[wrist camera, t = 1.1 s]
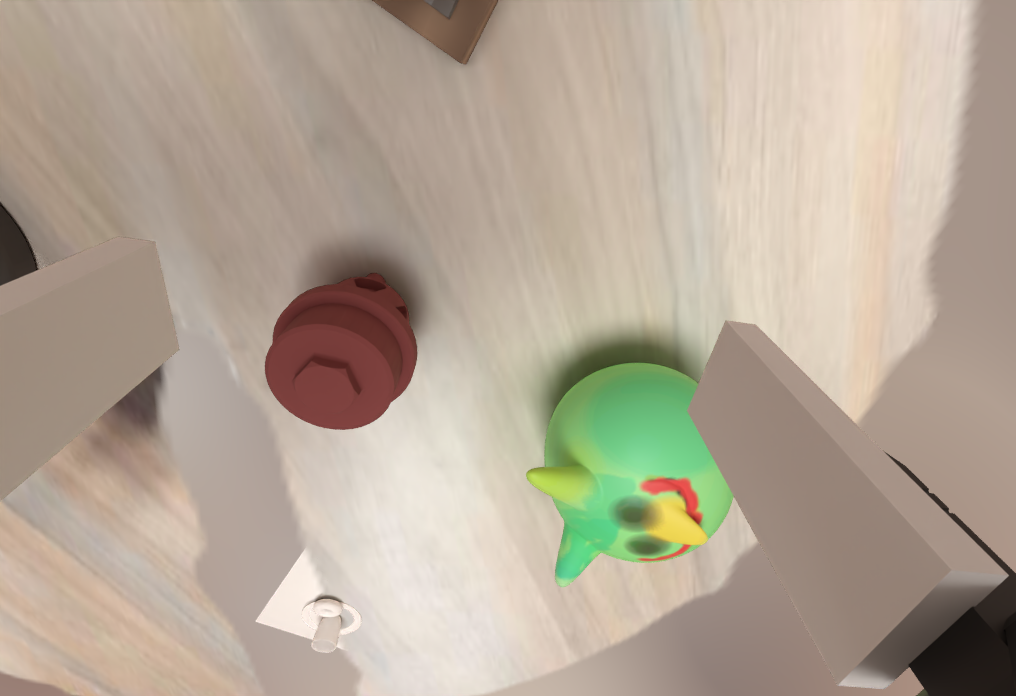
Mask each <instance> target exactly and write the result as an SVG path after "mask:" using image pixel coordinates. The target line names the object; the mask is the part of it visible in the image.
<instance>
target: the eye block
mask: <svg viewBox="0 0 1016 696" xmlns="http://www.w3.org/2000/svg"><path fill="white" fill-rule="evenodd" d="M372 1H374V2H375V3H377V4H378V5H379V6H381V7H382V8H384V9H385V10H386V11H388V12H389V13H391V14H392V15H393V16H395V17H396V18H398V19H399V20H400V21H402V22H403V23H405V24H406V25H408V26H409V27H410V28H412V29H413V30H415V31H416V32H417V33H419V34H420V35H422V36H423V37H424V38H426V39H427V40H429V41H430V42H431V43H433V44H434V45H436V46H437V47H438V48H440V49H441V50H443V51H444V52H446V53H447V54H448V55H450V56H451V57H453V58H454V59H455V60H457V61H458V62H460V63H463V64H467V62H468V60H469V58H470V56H471V54H472V52H473V50H474V48H475V46H476V44H477V42H478V40H479V38H480V36H481V34H482V32H483V30H484V28H485V26H486V24H487V22H488V20H489V18H490V16H491V14H492V12H493V10H494V8H495V6H496V4H497V2H498V0H372Z"/></svg>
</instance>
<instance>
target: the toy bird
mask: <svg viewBox="0 0 1016 696" xmlns="http://www.w3.org/2000/svg"><path fill="white" fill-rule="evenodd" d="M697 386H698V383H697V382H696V381H694V380H693V379H691V378H690V377H688V376H687V375H685V374H683V373H681V372H679V371H676V370H674V369H671V368H668V367H665V366H661V365H656V364H650V363H624V364H618V365H614V366H610V367H607V368H604V369H601V370H599V371H596V372H594V373H592V374H590V375H588V376H587V377H585V378H584V379H582V380H581V381H579V382H578V383H577V384H575V385H574V386H573V387H572V388H571V389H570V390H569V391H568V392H567V393H566V394H565V395H564V397H563V398H562V399H561V401H560V402H559V404H558V405H557V407H556V409H555V411H554V413H553V415H552V417H551V420H550V423H549V426H548V430H547V434H546V440H545V454H544V457H545V467H540V468H534V469H531V470H529V471H528V472H527V473H526V477H527V479H528V481H529V482H530V483H531V484H532V485H533V486H534V487H536V488H537V489H539V490H541V491H542V492H544V493H546V494H548V495H550V496H552V498H553V501H554V503H555V505H556V507H557V509H558V511H559V513H560V515H561V516H562V518H563V519H564V530H563V535H562V539H561V544H560V548H559V553H558V557H557V562H556V569H555V580H556V583H557V584H558V585H559V586H560V587H566V586H568V585H569V584H570V583H572V582H573V581H574V580H575V579H576V578H577V577H578V576H579V575H580V574H581V572H582V571H583V570H584V569H585V568H586V567H587V566H588V565H589V564H590V563H591V561H592V560H593V559H594V558H595V557H596V556H598V555H599V554H600V553H604V554H606V555H609V556H611V557H614V558H617V559H621V560H626V561H631V562H641V563H650V562H660V561H665V560H670V559H673V558H676V557H679V556H682V555H684V554H687V553H689V552H691V551H692V550H694V549H696V548H697V547H699V546H700V545H702V544H705V543H706V542H707V541H708V539H709V538H710V537H711V536H712V535H713V534H714V533H715V532H716V531H717V529H718V528H719V527H720V525H721V524H722V522H723V520H724V519H725V517H726V515H727V513H728V511H729V508H730V506H731V503H732V500H733V494H732V492H731V490H730V488H729V487H728V485H727V483H726V481H725V479H724V477H723V476H722V474H721V472H720V470H719V468H718V466H717V465H716V463H715V461H714V459H713V457H712V455H711V454H710V452H709V450H708V448H707V446H706V445H705V443H704V441H703V439H702V437H701V435H700V434H699V432H698V430H697V428H696V426H695V424H694V423H693V421H692V419H691V417H690V415H689V413H688V412H687V409H688V407H689V405H690V402H691V400H692V398H693V395H694V393H695V391H696V388H697Z"/></svg>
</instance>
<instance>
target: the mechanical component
mask: <svg viewBox="0 0 1016 696" xmlns="http://www.w3.org/2000/svg"><path fill="white" fill-rule="evenodd" d="M416 361H417V344H416V339H415V336H414V334H413V331H412V329H411V327H410V325H409V313H408V310H407V307H406V305H405V303H404V301H403V299H402V298H401V297H400V295H399V294H398V293H397V292H396V291H395V290H394V289H393V288H391V287H390V286H388V285H387V284H385V280H384V278H383V277H382V276H381V275H379V274H377V273H372V274H369V275H368V276H367V277H354V278H349V279H346V280H343V281H341V282H340V283H338V284H333V285H324V286H319V287H316V288H313V289H310V290H308V291H306V292H304V293H303V294H301V295H299V296H298V297H297V298H296V299H294V300H293V301H292V302H291V303H290V304H289V306H288V307H287V308H286V309H285V310H284V311H283V312H282V314H281V315H280V317H279V318H278V320H277V322H276V325H275V327H274V332H273V344H272V346H271V347H270V349H269V351H268V353H267V356H266V361H265V374H266V378H267V382H268V385H269V387H270V389H271V391H272V393H273V394H274V396H275V397H276V399H277V400H278V401H279V402H280V403H281V404H282V405H283V406H284V407H285V408H286V409H287V410H288V411H289V412H291V413H292V414H294V415H295V416H297V417H298V418H300V419H302V420H304V421H306V422H308V423H311V424H313V425H316V426H319V427H323V428H329V429H340V430H345V429H354V428H358V427H362V426H365V425H367V424H370V423H371V422H373V421H375V420H377V419H378V418H379V417H380V416H381V415H382V414H383V413H384V412H385V411H386V410H387V408H388V407H389V405H390V403H391V402H392V401H393V400H395V399H396V398H397V397H399V396H400V395H401V394H402V393H403V391H404V390H405V389H406V388H407V386H408V384H409V383H410V381H411V378H412V376H413V372H414V369H415V366H416Z"/></svg>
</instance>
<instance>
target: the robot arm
mask: <svg viewBox="0 0 1016 696" xmlns="http://www.w3.org/2000/svg"><path fill="white" fill-rule="evenodd" d="M178 350H179V345H178V341H177V337H176V332H175V328H174V323H173V319H172V314H171V310H170V306H169V301H168V297H167V292H166V288H165V284H164V279H163V275H162V270H161V266H160V261H159V257H158V253H157V248H156V244H155V242H154V241H147V240H140V239H132V238H125V237H116V238H113V239H111V240H108V241H106V242H104V243H101V244H99V245H97V246H94V247H92V248H89V249H87V250H85V251H82V252H80V253H77V254H75V255H73V256H70V257H68V258H66V259H63V260H61V261H58V262H56V263H54V264H51V265H49V266H46V267H44V268H42V269H39V270H37V271H36V267H35V263H34V259H33V256H32V254H31V251H30V249H29V247H28V244H27V242H26V241H25V239H24V237H23V235H22V234H21V232H20V230H19V229H18V227H17V226H16V224H15V223H14V222H13V220H12V219H11V218H10V216H9V215H8V214H7V213H6V212H5V210H4V209H3V208H2V207H1V206H0V501H1V500H2V499H4V498H5V497H6V496H7V495H8V494H9V493H11V492H12V491H13V490H14V489H15V488H17V487H18V486H19V485H20V484H21V483H22V482H24V481H25V480H26V479H27V478H28V477H29V476H31V475H32V474H33V473H34V472H35V471H37V470H38V469H39V468H40V467H41V466H42V465H44V464H45V463H46V462H47V461H48V460H50V459H51V458H52V457H53V456H54V455H55V454H57V453H58V452H59V451H60V450H61V449H63V448H64V447H65V446H66V445H67V444H68V443H70V442H71V441H72V440H73V439H74V438H76V437H77V436H78V435H79V434H80V433H81V432H83V431H84V430H85V429H86V428H87V427H88V426H90V425H91V424H92V423H93V422H94V421H96V420H97V419H98V418H99V417H100V416H101V415H103V414H104V413H105V412H106V411H107V410H109V409H110V408H111V407H112V406H113V405H114V404H116V403H117V402H118V401H119V400H120V399H122V398H123V397H124V396H125V395H126V394H127V393H129V392H130V391H131V390H132V389H133V388H135V387H136V386H137V385H138V384H139V383H140V382H142V381H143V380H144V379H145V378H146V377H147V376H149V375H150V374H151V373H152V372H153V371H155V370H156V369H157V368H158V367H159V366H160V365H162V364H163V363H164V362H165V361H166V360H168V359H169V358H170V357H171V356H172V355H173V354H175V353H176V352H177V351H178ZM687 412H688V413H689V415H690V417H691V419H692V421H693V423H694V424H695V426H696V428H697V430H698V432H699V434H700V435H701V437H702V439H703V441H704V443H705V445H706V446H707V448H708V450H709V452H710V454H711V455H712V457H713V459H714V461H715V463H716V465H717V466H718V468H719V470H720V472H721V474H722V476H723V477H724V479H725V481H726V483H727V485H728V487H729V488H730V490H731V492H732V494H733V496H734V498H735V499H736V501H737V503H738V505H739V507H740V508H741V510H742V512H743V514H744V516H745V518H746V519H747V521H748V523H749V525H750V527H751V529H752V530H753V532H754V534H755V536H756V538H757V540H758V541H759V543H760V545H761V547H762V549H763V551H764V552H765V554H766V556H767V558H768V560H769V561H770V563H771V565H772V567H773V569H774V571H775V572H776V574H777V576H778V578H779V580H780V582H781V583H782V585H783V587H784V589H785V590H786V593H787V594H788V596H789V598H790V600H791V602H792V603H793V605H794V607H795V609H796V611H797V612H798V614H799V616H800V618H801V620H802V622H803V624H804V625H805V627H806V629H807V631H808V633H809V635H810V636H811V638H812V640H813V642H814V644H815V646H816V647H817V649H818V651H819V653H820V655H821V657H822V658H823V660H824V662H825V664H826V666H827V667H828V669H829V671H830V673H831V675H832V677H833V678H834V680H835V682H836V684H837V685H838V686H850V687H864V688H879V689H885V688H886V687H887V686H889V685H890V684H891V683H892V682H893V681H894V680H895V679H896V678H897V677H899V676H900V675H901V674H902V673H903V672H904V671H905V670H906V669H907V668H908V667H910V668H911V670H912V671H913V673H914V674H915V675H916V677H917V678H918V680H919V681H920V683H921V684H922V686H923V687H924V689H923V690H922V691H921V692H920V693H919V694H918V695H916V696H1016V573H1015V572H1014V571H1013V570H1012V569H1010V567H1008V565H1007V564H1005V563H1004V562H1003V561H1002V560H1001V559H1000V558H999V557H998V556H997V555H996V554H995V553H994V552H993V551H992V550H991V549H990V548H989V547H988V546H987V545H986V544H985V543H984V542H983V541H982V540H981V539H980V538H979V537H978V536H977V535H976V534H974V532H973V531H972V530H971V529H970V528H969V527H967V526H966V525H965V524H964V523H963V522H962V521H961V520H960V519H959V518H958V517H957V516H956V515H955V514H953V513H949V511H948V510H949V508H948V507H947V506H946V505H945V504H944V503H943V502H942V501H941V500H940V499H939V498H938V497H937V496H935V494H932V493H929V491H928V490H929V489H928V488H927V487H926V486H925V485H924V484H923V483H922V482H921V481H920V480H919V479H918V478H917V477H916V476H915V475H914V474H913V473H912V472H911V471H910V470H909V469H908V468H907V467H906V466H905V465H903V464H901V463H900V462H899V461H897V460H896V459H894V458H893V457H891V456H890V455H889V454H887V453H886V452H884V451H883V450H882V449H881V448H880V447H879V446H878V445H877V444H876V443H875V442H873V440H872V439H871V438H870V437H869V436H868V435H867V434H866V433H865V432H864V431H862V429H860V428H859V427H858V426H857V425H856V424H855V423H854V422H853V421H852V420H851V419H850V418H849V417H848V416H847V415H846V414H845V413H844V412H843V411H842V410H841V409H840V408H839V407H838V406H837V405H836V404H835V403H834V402H833V401H832V400H831V399H830V398H829V397H828V396H827V395H826V394H825V393H824V392H823V391H822V390H821V389H820V388H819V387H818V386H817V385H816V384H815V383H814V382H813V381H812V380H811V379H810V378H809V377H808V376H807V375H806V374H805V373H804V372H803V371H802V370H801V369H800V368H799V367H798V366H797V365H796V364H795V363H794V362H793V361H792V360H791V359H790V358H789V357H788V356H787V355H786V354H785V353H784V352H783V351H782V350H781V349H780V348H779V347H778V346H777V345H776V344H775V343H774V342H773V341H772V340H771V339H770V338H769V337H768V336H767V335H766V334H765V333H764V332H762V331H761V330H760V329H759V328H758V327H757V326H756V325H755V324H747V323H740V322H733V321H725V323H724V325H723V328H722V330H721V332H720V335H719V337H718V339H717V342H716V344H715V346H714V349H713V351H712V353H711V356H710V358H709V360H708V363H707V365H706V367H705V370H704V372H703V374H702V377H701V379H700V381H699V384H698V386H697V388H696V391H695V393H694V395H693V398H692V400H691V402H690V405H689V407H688V409H687Z"/></svg>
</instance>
